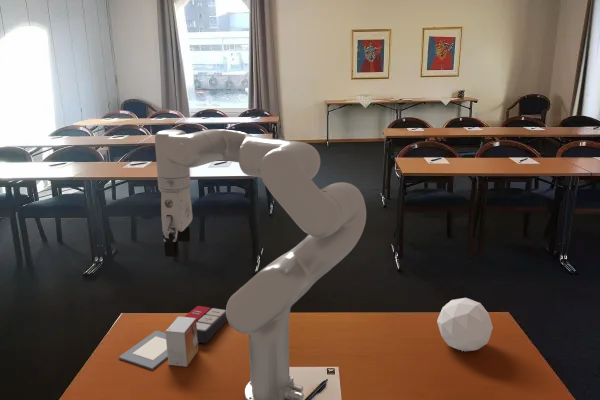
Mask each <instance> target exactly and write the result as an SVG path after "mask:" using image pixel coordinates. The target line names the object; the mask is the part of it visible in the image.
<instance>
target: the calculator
mask: <svg viewBox="0 0 600 400" xmlns="http://www.w3.org/2000/svg"><path fill="white" fill-rule="evenodd" d="M183 317H189V318H196V324H197V338H198V343H203V344H207V343H209V341H210V340H211V339H212V338H213V336H214V335H215V333H217V332H218V331H219V330H220V328H222V326H224V324H226V322H228V320H227V316H226V309H220V308H215V307H213V308H211V307H207V306H203V305H202V306H201V305H197V306H195V307H194V308H193V309H192V310H191V311H190V312H188V313H187V314H186V315H185V316H183Z"/></svg>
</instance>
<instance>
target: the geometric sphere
mask: <svg viewBox="0 0 600 400" xmlns="http://www.w3.org/2000/svg"><path fill="white" fill-rule="evenodd" d="M436 322H437V325H438V328H439V329H438V330H439V332H440V335H441V337H442V339H443V341H444V342H445V343H446V344H447V346H448V347H451V348H453V349H456V350H458V351H460V350H461V351H460V352H463V351H464V352H471V351H472V352H473V351H477V350H480V349H481V348H482V347H484V346H485V345H487V344H488V343H489V340H490V338H491V334H492V332H493V329H494V327H493V323H492V320H491V317H490V313H489V312H488V311H487V310H486V309H485V307H484V305H482V303H481V302H478V301H475V300H473V299H471V298H467V297H463V298H456V299H451V300H450V301H449V302H447V303H446V304H445V305H444V306H442V308H441V311H440V312H439V315H438V318H437V320H436Z"/></svg>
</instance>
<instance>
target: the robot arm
mask: <svg viewBox="0 0 600 400" xmlns="http://www.w3.org/2000/svg"><path fill="white" fill-rule="evenodd" d="M154 144H155V145H154V148H155V157H156V158H155V159H156V160H155V161H156V175H157V187H158V190H159V191H160V192H161V193H160V194H161V197H160V199H161V201H160V206H161V207H160V210H161V213H160V214H161V226H162V227H161V229H162V230H161V231H162V236H163V237H162V238H163V243H164V246H163V247H164V256H165V257H171V258H174V257H175V258H177V257H179V255H180V251H179V242H191V229H190V224H191V223H192V221H193V205H192V197H191V191H190V189H191V172H190V171H191V168H196V167H197V168H198V167H201V166H204V165H207V164H210V163H213V162H218V161H225V162H231V163H232V162H233V163H238V166H239V169H240V171H241V172H242V173H243V174H244V175H247V176H249V177H256V178H260V179H261V180H262V183H263V184H264V185H265V187H266V188H267V190H268V191H269V192H270V194H271V195H272V196H273V198H274V199H275V201H277V203H278V204H279V205H280V206H281V207H282V208H283V209H284V211H285V212H286V213H287V214H288V215H289V217H290V218H291V219H292V221H294V222H295V224H296V225H297V226H298V227H299V228H300V230H302V231H303V232H304V233H305V234H307V236H306V237H305V238H304V239H302V241H300V242H299V243H298V244H296V246H294V247H293V248H291V249H290V250H289V251H287V252H286V253H283V254H282V255H280V256H279V257H277V258H276V259H275V260H273V261H272V262H270V263H269V264H267V265H266V266H265V267H263V268H262V269H261V270H260V271H258V272H257V273H256V274H255V275H254V276H253V277H251V278H250V279H249V280H248V281H247V282H246V283H245V284H243V286H241V287H239V289H237V290H236V292H234V293H233V294H232V295H231V296H230V297H229V298H228V300H227V304H226V308H225V310H226V316H227V322H228V324H229V326H230V327H231V328H233V329H232V330H235V331H237V332H238V333H240V334H245V335H246V334H247V335H248V349H249V351H248V352H249V374H250V381H248V383H247V384H246V386H245V388H244V398H245V400H304V397H305V395H304V393H303V391H304V386H301V385H299V384H298V385H297V384H295V383H294V376H293V375H290V315H291V310H292V309H291V308H292V306H294V304H296V303H297V302H298V301H299V300H300V299H301V298H302V297H303V296H304V295H305V294H306V293H307V292H309V290H310V289H311V287H312V286H313V285H314V284H315V283H317V281H318V280H320V279H321V278H322V277H323V276H325V274H327V273H328V272H329V271H331V270H332V269H333V268H334V267H335V266H336V265H338V264H339V263H340V262H342V260H343V259H344V258H346V257H347V256H348V255H349V253H351V251H352V250H353V249H354V248H355V246H356V245H357V243H358V242H359V240H360V238H361V237H362V234H363V232H364V228H365V226H366V221H367V208H366V202H365V198H364V195H363V194H362V192H361V191H360V189H359V188H358V187H356V186H355V185H353V184H352V183H349V182H346V181H345V182H343V181H342V182H341V181H340V182H334V183H332V184H329V185H326V186H324V187H322V188H321V189H320V188H319V187H318V186H317V185H316V183H315V182H314V180H313V179H314V177H316V175H317V174H318V173H319V170H320V167H321V156H320V153H319V152H318V150H317V149H316V148H315V147H314V146H313V145H311V144H309V143H307V142H304V141H297V140H288V139H280V138H279V139H278V138H272V137H271V138H268V137H263V136H254V135H251V134H249V133H246V132H244V131H243V132H242V131H240V130H239V131H238V130H229V129H220V128H219V129H217V128H216V129H215V128H213V129H207V130H201V131H195V132H191V133H187V132H186V131H184V130H181V129H163V130H159V131H157V132H156V133H155V135H154Z"/></svg>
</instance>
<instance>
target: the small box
mask: <svg viewBox="0 0 600 400" xmlns="http://www.w3.org/2000/svg"><path fill="white" fill-rule="evenodd" d="M164 333H166V344H167V354H168V358H167V361H168V362H167V363H168V365H169V366H176V367H177V366H178V367H188V366H189V364H190V363H191V362H192V360H193V359H194V357H195V356H196V355H197V354H198V352H199V342H198V338H197V324H196V318H189V317H184V316H177V317H176V318H175V319H174V321H173V322H172V323H171V325H170V326H168V328H167V329H166V330H165V331H164Z"/></svg>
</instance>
